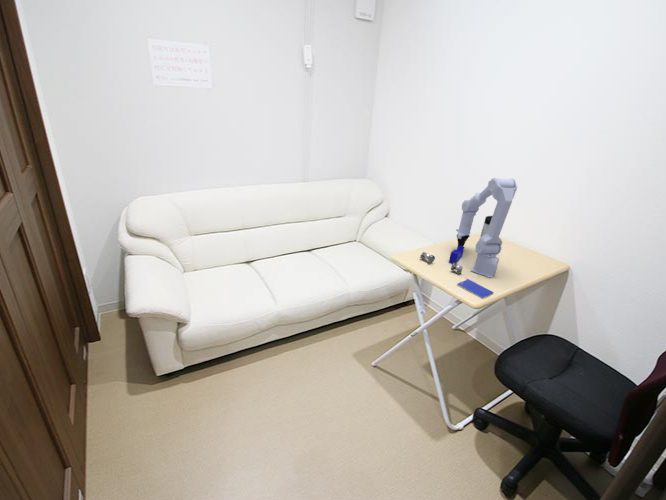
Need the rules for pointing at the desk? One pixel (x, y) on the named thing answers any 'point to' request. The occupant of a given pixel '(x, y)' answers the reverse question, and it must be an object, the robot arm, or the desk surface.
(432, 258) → the shaft
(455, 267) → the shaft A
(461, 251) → the cable clip
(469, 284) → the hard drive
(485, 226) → the travel mug
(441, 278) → the desk surface
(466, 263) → the desk surface
